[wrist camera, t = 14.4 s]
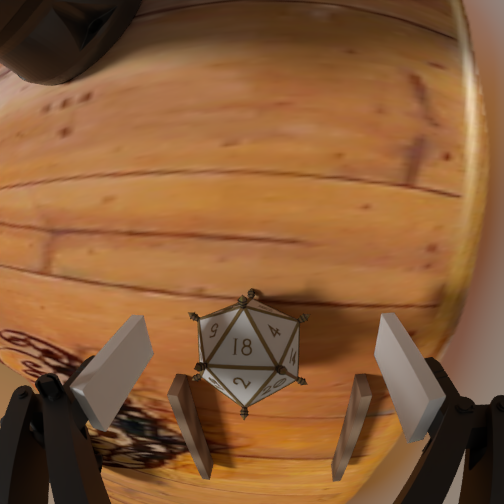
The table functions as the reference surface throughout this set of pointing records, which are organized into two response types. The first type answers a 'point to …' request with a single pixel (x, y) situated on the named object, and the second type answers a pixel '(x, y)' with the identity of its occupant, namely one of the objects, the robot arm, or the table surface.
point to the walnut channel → (198, 446)
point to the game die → (248, 350)
